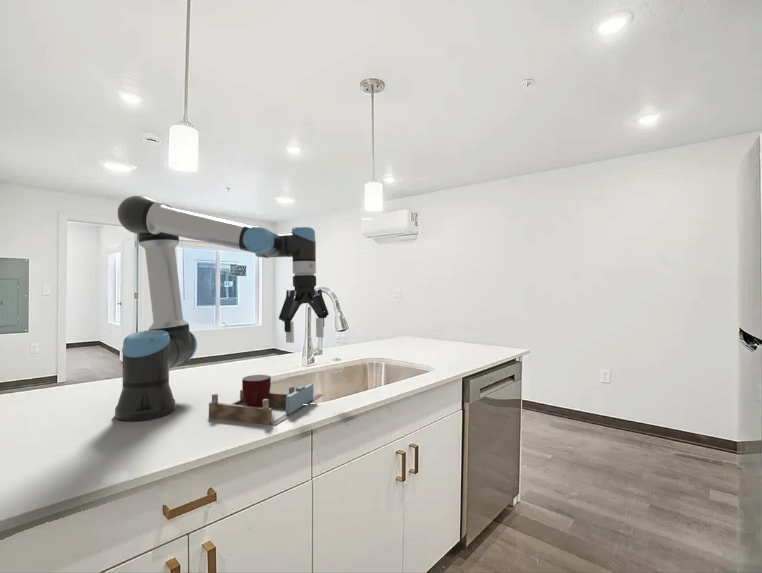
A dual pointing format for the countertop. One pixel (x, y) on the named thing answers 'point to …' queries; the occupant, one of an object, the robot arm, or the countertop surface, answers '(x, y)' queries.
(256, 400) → the mug
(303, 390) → the gate
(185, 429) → the countertop surface
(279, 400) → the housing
